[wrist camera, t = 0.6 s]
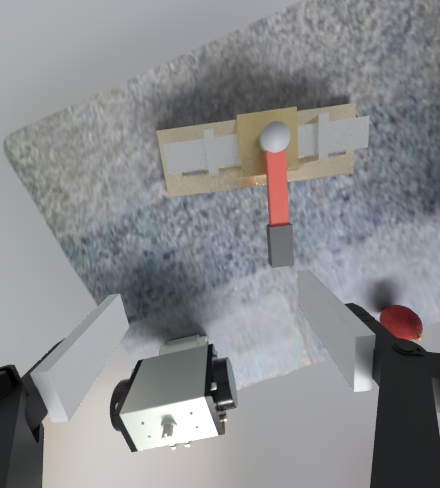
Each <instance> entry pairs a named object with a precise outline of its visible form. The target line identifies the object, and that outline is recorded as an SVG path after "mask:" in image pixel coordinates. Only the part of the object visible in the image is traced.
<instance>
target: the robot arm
mask: <svg viewBox="0 0 440 488" xmlns="http://www.w3.org/2000/svg"><path fill="white" fill-rule="evenodd" d="M297 272H298V293H299V307H300V309H301V310H302V312H303V314H304V315H305V317H306V318H307V320H308V321H309V323H310V324H311V326H312V328H313V329H314V331H315V332H316V334H317V335H318V337H319V338H320V340H321V342H322V343H323V345H324V346H325V348H326V349H327V351H328V352H329V354H330V356H331V357H332V359H333V360H334V362H335V363H336V365H337V366H338V368H339V370H340V371H341V373H342V374H343V376H344V377H345V379H346V380H347V382H348V384H349V385H350V387H351V388H352V390H353V391H354V392H358V391H368V390H372V385H373V379H374V380H375V382H376V383H377V384H378V386H379V396H378V407H377V418H376V430H375V440H374V451H373V462H372V473H371V483H370V488H440V435H439V428H438V421H437V414H436V412H439V413H440V353H432V352H427V351H426V350H425V349H423V348H422V347H421V346H420V345H418V344H416V343H414V342H412V341H410V340H407V339H403V338H397V337H396V336H394V335H393V334H392V333H391V332H390V331H389V330H387V329H386V328H385V327H384V326H383V325H382V324H381V323H379V322H378V321H377V320H375V318H374V317H372V316H371V315H370V314H369V313H368V312H367V311H366V310H364V309H363V308H362V307H360V306H358V305H356V304H354V303H348V304H343V303H342V302H341V301H340V300H339V299H338V298H337V297H336V296H335V295H334V294H333V293H332V292H331V291H330V290H329V289H328V288H327V287H326V286H325V285H324V284H323V283H322V282H321V281H320V280H319V279H318V278H317V277H316V276H315V275H314V274H312V273H311V272H310V271H309V270H303V271H297ZM128 328H129V324H128V320H127V317H126V313H125V310H124V306H123V303H122V299H121V296H120V294H112V295H109V296H108V297H107V298H106V299H105V300H104V301H103V302H102V303H101V304H100V305H99V306H98V307H97V308H96V309H95V310H94V311H93V312H92V313H91V314H90V315H89V316H88V317H87V318H86V319H85V320H84V321H83V322H82V323H81V324H80V325H78V326H77V327H76V328H75V330H74V331H72V332H71V333H70V335H68V336H67V338H65V339H63V340H62V341H60V342H59V343H57V344H56V345H55V346H54V347H53V348H52V349H51V350H49V352H48V353H46V354H45V355H44V356H43V357H42V359H41V360H39V361H38V362H37V363H36V364H35V365H34V366H33V367H32V368H31V369H30V370H29V371H28V372H27V373H26V374H25V375H24V376H23V377H22V378H20V376H19V374H18V371H17V370H16V367H15V365H6V366H3V367H0V488H42V473H43V444H44V427H43V424H42V422H41V421H42V420H43V419H44V417H45V416H46V415H47V413H48V414H49V416H50V419H51V421H52V423H57V422H66V421H70V419H71V417H72V416H73V414H74V413H75V411H76V410H77V408H78V406H79V405H80V403H81V402H82V400H83V399H84V397H85V395H86V394H87V392H88V391H89V389H90V388H91V386H92V385H93V383H94V382H95V380H96V378H97V377H98V375H99V374H100V372H101V371H102V369H103V368H104V366H105V364H106V363H107V361H108V360H109V358H110V357H111V355H112V353H113V352H114V350H115V349H116V347H117V346H118V344H119V343H120V341H121V339H122V338H123V336H124V335H125V333H126V332H127V330H128Z"/></svg>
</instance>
